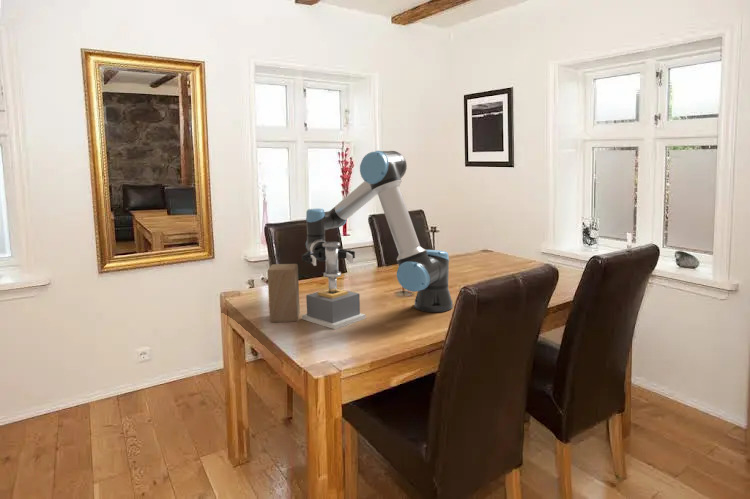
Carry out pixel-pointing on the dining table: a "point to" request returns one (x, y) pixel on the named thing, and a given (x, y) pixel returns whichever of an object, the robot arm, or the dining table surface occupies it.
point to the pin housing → (333, 308)
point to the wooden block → (283, 292)
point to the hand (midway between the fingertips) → (333, 260)
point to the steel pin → (332, 264)
